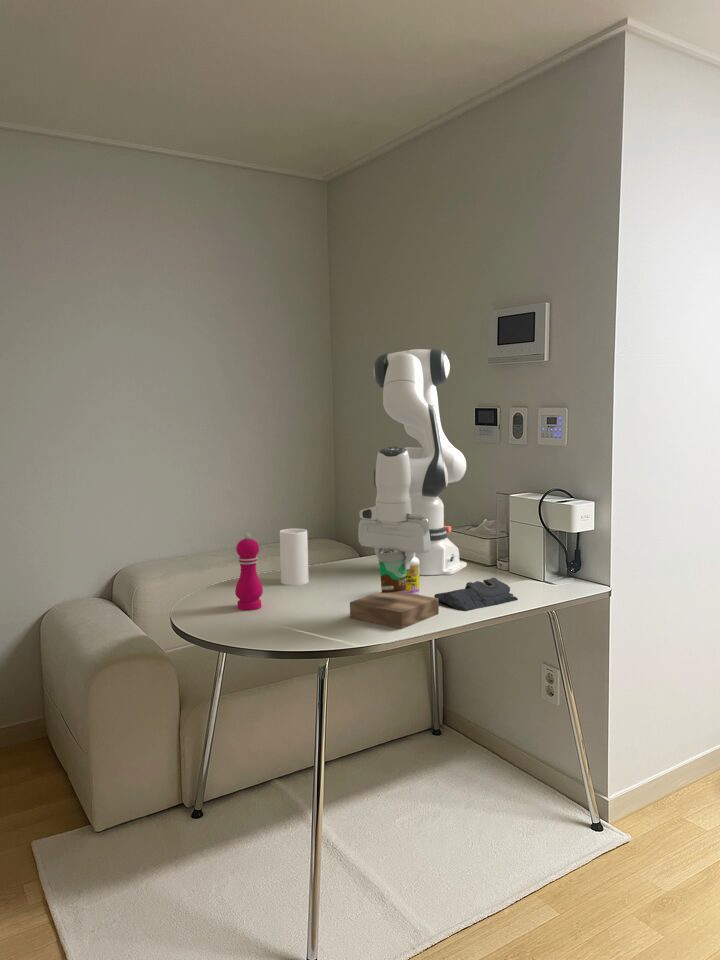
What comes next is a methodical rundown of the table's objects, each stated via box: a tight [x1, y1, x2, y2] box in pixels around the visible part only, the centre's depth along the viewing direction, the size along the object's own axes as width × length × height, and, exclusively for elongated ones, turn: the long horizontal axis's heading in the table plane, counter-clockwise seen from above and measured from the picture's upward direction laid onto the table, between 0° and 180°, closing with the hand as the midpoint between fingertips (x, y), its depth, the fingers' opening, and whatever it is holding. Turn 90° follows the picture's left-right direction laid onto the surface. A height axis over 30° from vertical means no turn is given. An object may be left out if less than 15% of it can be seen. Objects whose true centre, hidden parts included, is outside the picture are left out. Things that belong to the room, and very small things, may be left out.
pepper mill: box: [234, 532, 264, 611], centre depth 204 cm, size 7×7×20 cm
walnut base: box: [349, 591, 440, 630], centre depth 195 cm, size 16×16×4 cm
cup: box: [279, 527, 309, 586], centre depth 231 cm, size 8×8×16 cm
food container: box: [378, 550, 407, 593], centre depth 194 cm, size 12×6×10 cm, turn 164°
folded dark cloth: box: [434, 577, 519, 612], centre depth 210 cm, size 15×22×5 cm
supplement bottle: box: [399, 553, 420, 595], centre depth 216 cm, size 7×7×13 cm
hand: (394, 567), depth 194 cm, fingers closed on food container, 6 cm apart
